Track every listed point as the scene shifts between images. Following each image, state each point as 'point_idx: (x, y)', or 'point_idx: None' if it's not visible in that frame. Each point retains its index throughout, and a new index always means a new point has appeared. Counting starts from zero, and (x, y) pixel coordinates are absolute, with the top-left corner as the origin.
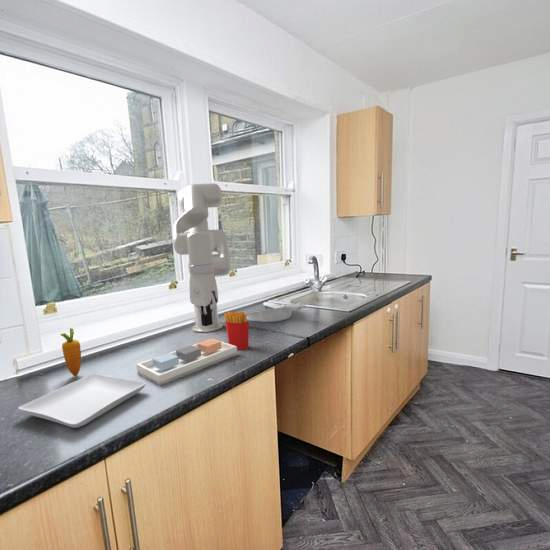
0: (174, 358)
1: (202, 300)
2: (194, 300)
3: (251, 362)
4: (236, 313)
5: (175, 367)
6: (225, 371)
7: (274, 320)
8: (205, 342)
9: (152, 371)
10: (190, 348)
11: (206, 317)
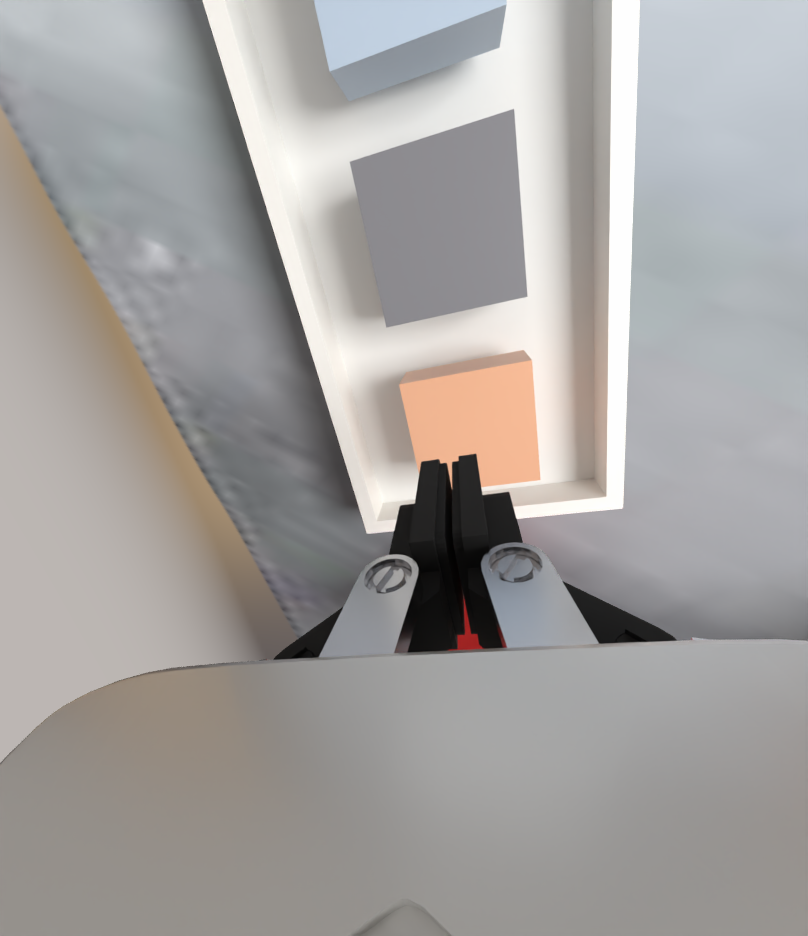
0: (319, 19)
1: (78, 845)
2: (681, 804)
3: (250, 500)
4: None
5: (392, 86)
6: (212, 365)
7: None
8: (496, 416)
9: None
10: (456, 261)
11: (404, 541)
